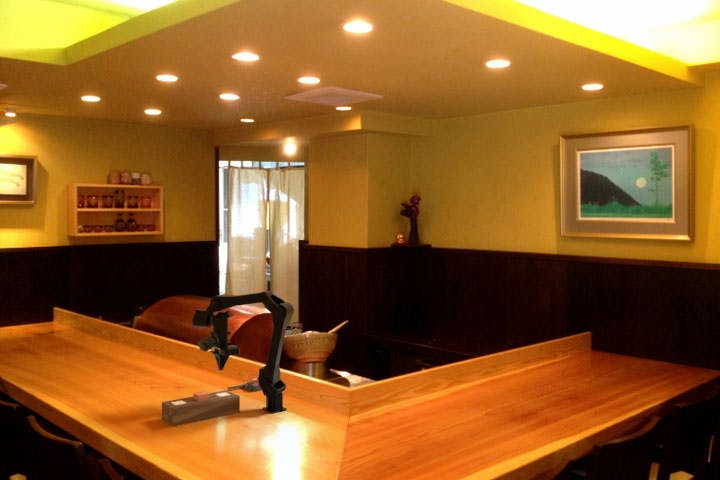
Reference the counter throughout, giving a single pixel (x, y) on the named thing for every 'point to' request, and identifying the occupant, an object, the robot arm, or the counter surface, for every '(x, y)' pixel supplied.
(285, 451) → the counter surface
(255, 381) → the walkie-talkie
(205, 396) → the plug terracotta
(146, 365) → the counter surface
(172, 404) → the cream plug
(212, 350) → the robot arm
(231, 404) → the socket board
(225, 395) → the cream plug
